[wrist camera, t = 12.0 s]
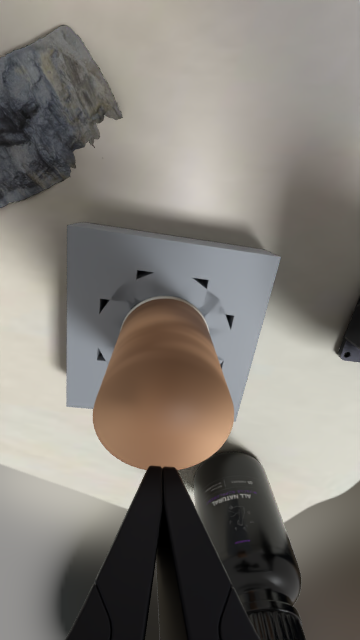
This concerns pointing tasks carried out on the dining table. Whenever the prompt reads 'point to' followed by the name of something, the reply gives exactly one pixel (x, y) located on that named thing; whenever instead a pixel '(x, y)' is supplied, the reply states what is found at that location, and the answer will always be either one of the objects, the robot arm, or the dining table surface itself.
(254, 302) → the board
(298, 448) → the dining table surface
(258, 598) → the supplement bottle
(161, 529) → the robot arm
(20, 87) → the driftwood
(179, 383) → the peg
